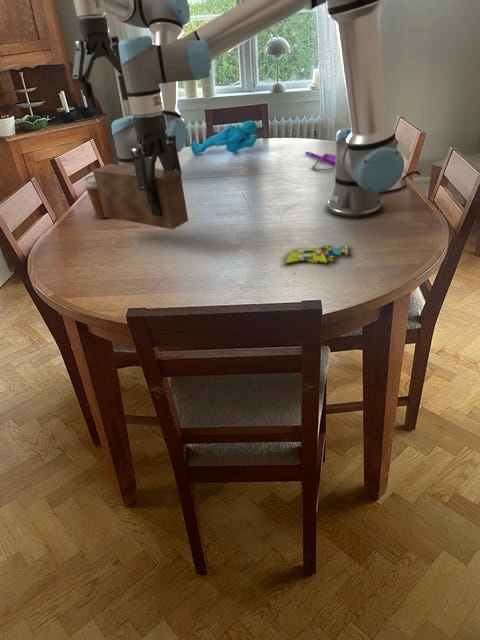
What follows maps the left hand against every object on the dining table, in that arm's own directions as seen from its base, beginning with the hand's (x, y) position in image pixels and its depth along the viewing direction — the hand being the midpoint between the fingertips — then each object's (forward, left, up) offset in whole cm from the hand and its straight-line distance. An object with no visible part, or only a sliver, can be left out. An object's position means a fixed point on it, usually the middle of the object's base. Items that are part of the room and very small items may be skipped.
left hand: (110, 104), depth 139 cm
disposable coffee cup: (-2, -8, -32) cm, 33 cm away
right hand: (+36, +1, -22) cm, 42 cm away
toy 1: (-48, +55, -32) cm, 80 cm away
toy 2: (+62, +30, -32) cm, 76 cm away
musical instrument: (-4, +77, -32) cm, 84 cm away
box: (+29, -3, -25) cm, 39 cm away
